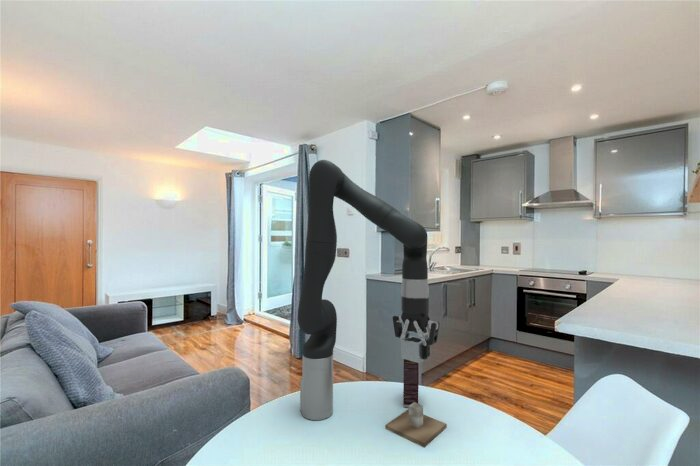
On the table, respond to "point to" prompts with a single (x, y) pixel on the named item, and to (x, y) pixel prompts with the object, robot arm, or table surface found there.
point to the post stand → (416, 425)
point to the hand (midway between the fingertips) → (415, 355)
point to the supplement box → (410, 383)
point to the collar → (412, 349)
